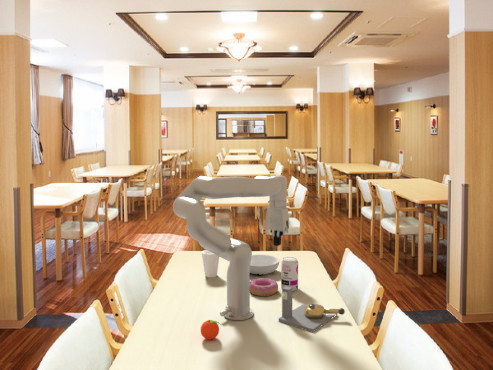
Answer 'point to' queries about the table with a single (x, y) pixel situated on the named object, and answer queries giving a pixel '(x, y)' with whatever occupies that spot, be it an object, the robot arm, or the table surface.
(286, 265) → the white soda can
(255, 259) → the serving bowl
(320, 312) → the gold pan with handle
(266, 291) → the donut
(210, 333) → the clementine
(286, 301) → the stand
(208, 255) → the foam cup
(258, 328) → the table surface
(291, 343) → the table surface
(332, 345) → the table surface
